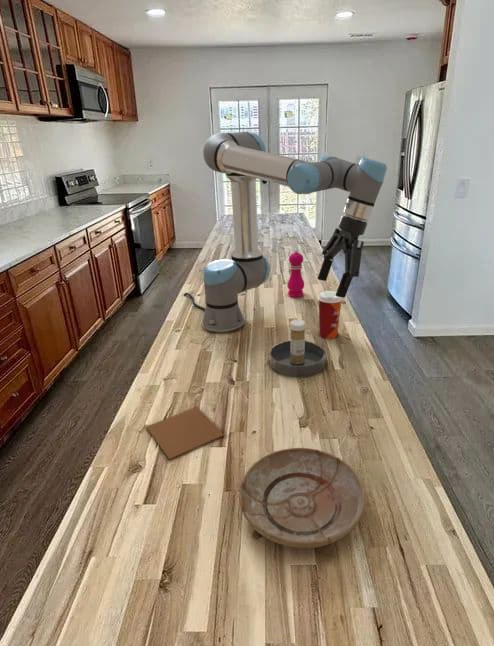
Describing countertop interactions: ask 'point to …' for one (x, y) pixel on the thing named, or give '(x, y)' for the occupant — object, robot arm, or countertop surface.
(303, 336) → the sprinkles bottle
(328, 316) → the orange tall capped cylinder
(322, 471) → the ceramic bowl
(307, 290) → the countertop surface
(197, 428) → the cork mat
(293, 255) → the pepper mill
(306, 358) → the pan
